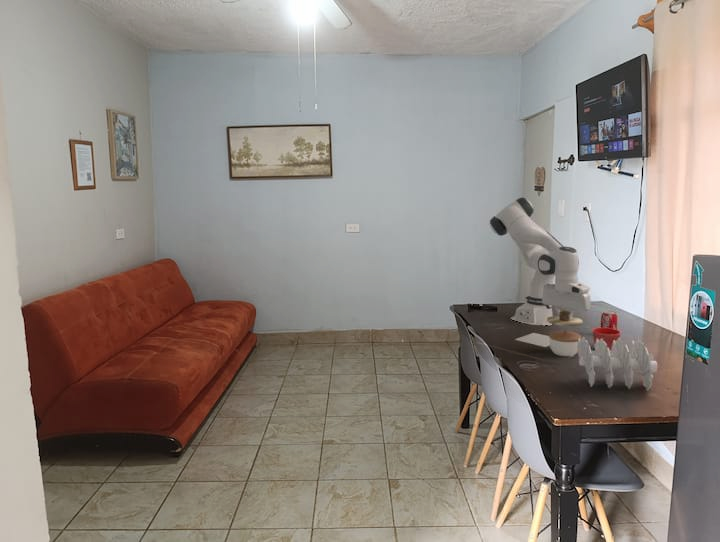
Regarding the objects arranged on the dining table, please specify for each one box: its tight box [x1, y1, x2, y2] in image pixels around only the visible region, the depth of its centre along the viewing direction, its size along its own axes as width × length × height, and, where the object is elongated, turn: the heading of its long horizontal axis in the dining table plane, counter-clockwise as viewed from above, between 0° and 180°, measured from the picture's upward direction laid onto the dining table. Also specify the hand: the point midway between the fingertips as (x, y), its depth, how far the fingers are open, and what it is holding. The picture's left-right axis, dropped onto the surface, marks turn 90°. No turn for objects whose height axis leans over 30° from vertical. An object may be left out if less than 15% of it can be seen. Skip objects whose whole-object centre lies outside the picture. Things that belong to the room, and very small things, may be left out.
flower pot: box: [592, 327, 622, 350], centre depth 220 cm, size 11×11×10 cm
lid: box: [547, 310, 584, 327], centre depth 216 cm, size 14×14×4 cm
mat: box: [514, 332, 550, 348], centre depth 238 cm, size 16×16×1 cm
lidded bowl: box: [548, 329, 582, 359], centre depth 217 cm, size 13×13×11 cm
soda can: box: [600, 310, 618, 330], centre depth 242 cm, size 7×7×12 cm
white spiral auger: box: [577, 336, 658, 391], centre depth 183 cm, size 18×18×25 cm
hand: (564, 318), depth 216 cm, fingers closed on lid, 3 cm apart
